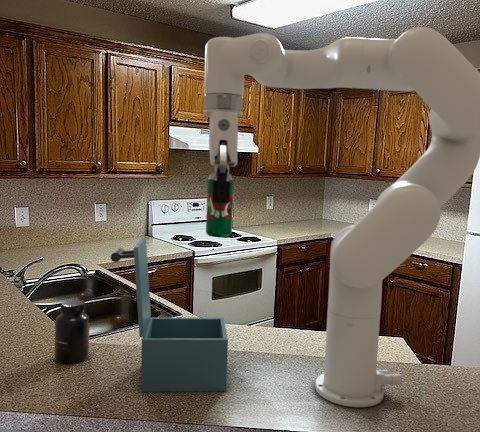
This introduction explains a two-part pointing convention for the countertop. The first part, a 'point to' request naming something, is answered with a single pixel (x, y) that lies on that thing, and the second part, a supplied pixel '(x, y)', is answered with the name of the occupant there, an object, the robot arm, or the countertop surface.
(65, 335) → the supplement bottle
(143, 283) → the teal box lid
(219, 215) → the soda can
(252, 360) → the countertop surface
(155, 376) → the teal box
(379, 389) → the robot arm
